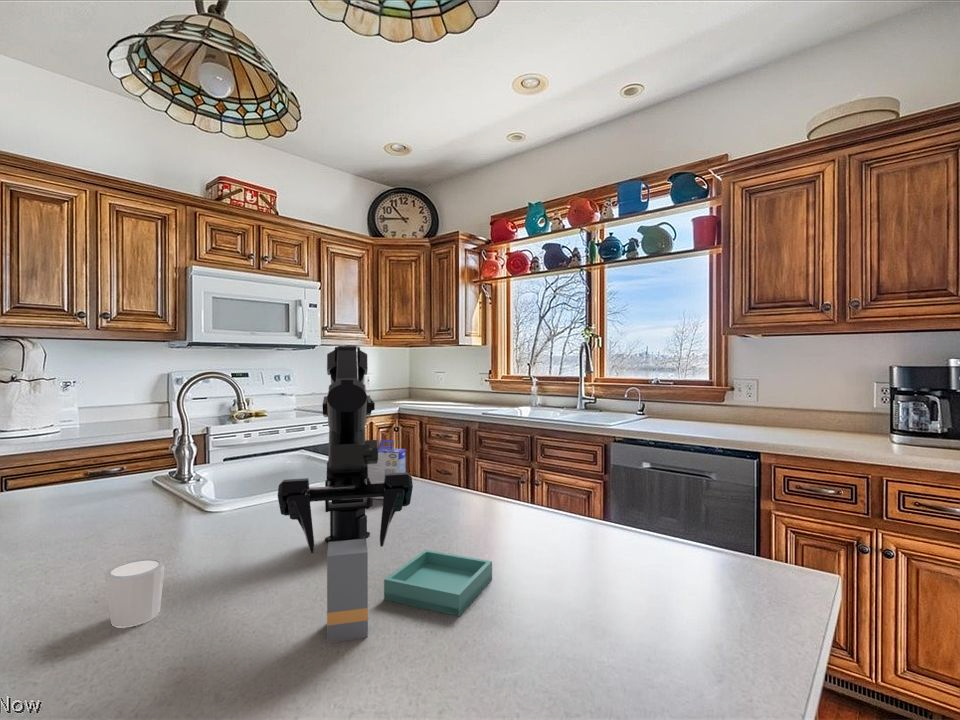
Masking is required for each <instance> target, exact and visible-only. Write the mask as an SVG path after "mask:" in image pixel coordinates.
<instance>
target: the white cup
mask: <svg viewBox="0 0 960 720" xmlns="http://www.w3.org/2000/svg"><path fill="white" fill-rule="evenodd" d="M165 565H166V563H165V560H164V559H160V558H139V559H134V560H130V561H127V562H124V563H120V564H117V565H115V566H113V567H111V568H109V569H108V570H107V571H106V572H105V573H104V575H105V576H104V577H105V585H106V592H107V600H108V608H109V610H108V611H109V617H110V625H111V624H113V625H114V626H122V627H123V626H130V625H135V624H138V623H142V622H145V621H147V620H149V619H152V618H153V617H155V616H156V615H158V613H159V612H160V613H161V606H162V605H161V604H162V596H163V595H162V594H163V585H164V578H165V577H164V575H165ZM158 616H159V615H158Z"/></svg>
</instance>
